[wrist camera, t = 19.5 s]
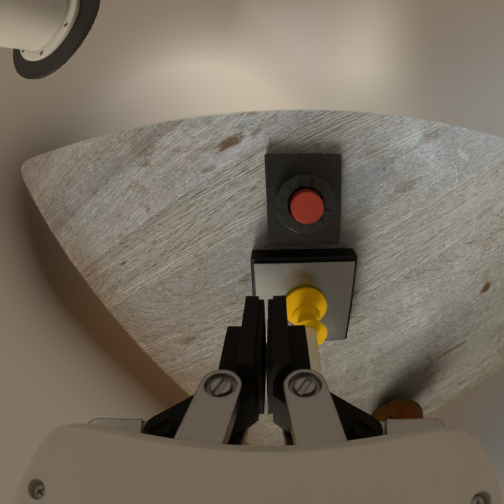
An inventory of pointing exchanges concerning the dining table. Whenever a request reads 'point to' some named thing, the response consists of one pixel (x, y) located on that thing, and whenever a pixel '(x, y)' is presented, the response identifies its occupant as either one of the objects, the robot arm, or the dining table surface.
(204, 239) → the dining table surface
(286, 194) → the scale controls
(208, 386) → the robot arm
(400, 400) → the fruit
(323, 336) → the candle
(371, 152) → the dining table surface
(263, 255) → the scale
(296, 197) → the button
